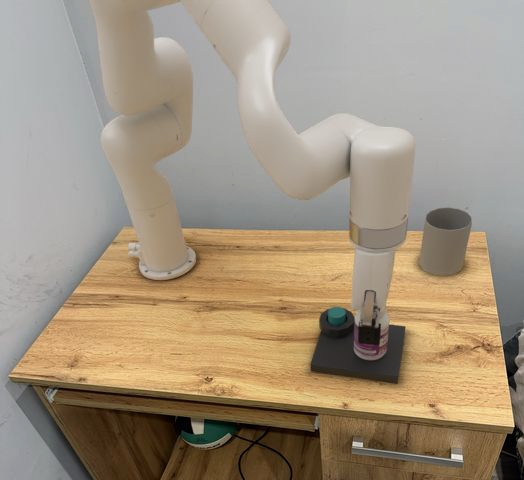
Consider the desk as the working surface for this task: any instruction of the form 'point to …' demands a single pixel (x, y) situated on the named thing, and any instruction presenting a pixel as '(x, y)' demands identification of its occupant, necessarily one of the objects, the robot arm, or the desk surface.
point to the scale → (345, 359)
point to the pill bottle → (372, 350)
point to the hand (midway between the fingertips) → (371, 327)
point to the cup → (445, 241)
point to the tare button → (336, 315)
